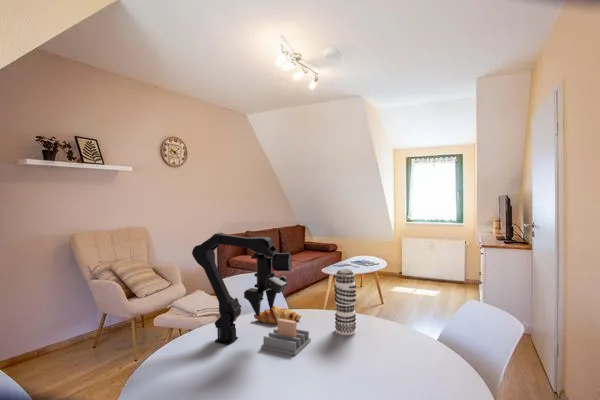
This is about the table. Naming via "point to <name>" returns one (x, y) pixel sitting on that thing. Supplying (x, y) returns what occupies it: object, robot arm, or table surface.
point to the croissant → (277, 315)
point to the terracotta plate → (287, 327)
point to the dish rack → (286, 342)
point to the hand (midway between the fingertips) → (264, 311)
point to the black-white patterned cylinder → (345, 302)
